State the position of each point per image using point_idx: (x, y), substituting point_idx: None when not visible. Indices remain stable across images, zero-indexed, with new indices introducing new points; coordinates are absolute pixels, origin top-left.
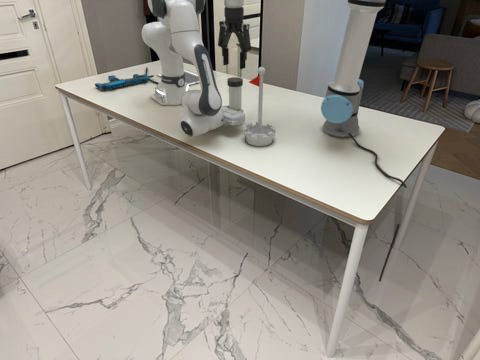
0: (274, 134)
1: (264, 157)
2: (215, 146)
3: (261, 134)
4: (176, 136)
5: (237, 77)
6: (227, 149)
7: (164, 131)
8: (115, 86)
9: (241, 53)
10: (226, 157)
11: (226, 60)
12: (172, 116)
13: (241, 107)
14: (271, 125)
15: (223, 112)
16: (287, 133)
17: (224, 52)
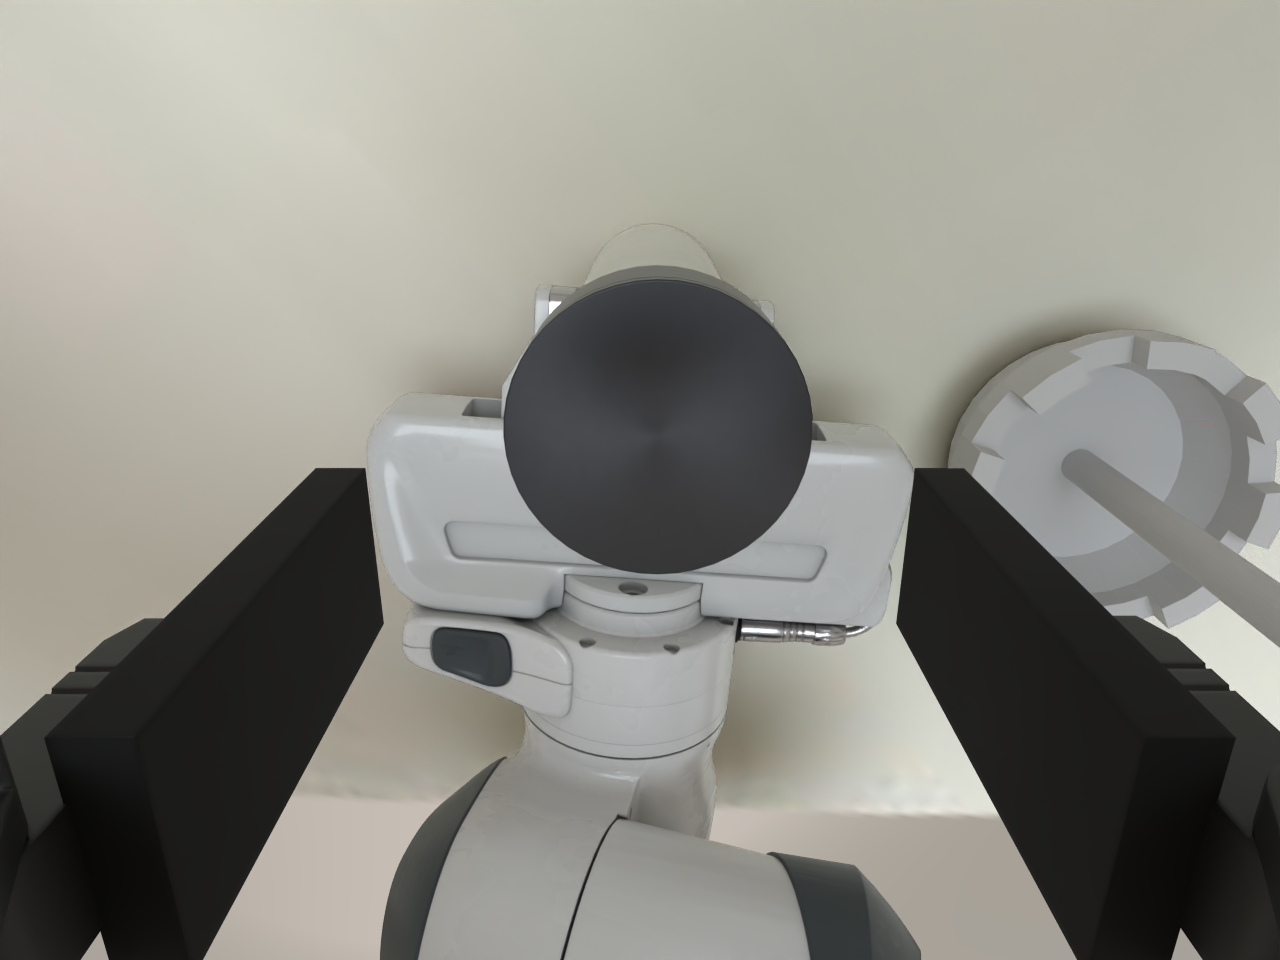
0: (1269, 449)
1: (1232, 653)
2: (810, 733)
3: (1204, 596)
4: (449, 786)
5: (607, 299)
6: (918, 716)
7: (303, 783)
8: None
9: (1152, 951)
10: (980, 797)
11: (339, 611)
12: (57, 555)
13: (718, 275)
14: (1206, 359)
15: (695, 591)
16: (1261, 150)
17: (248, 872)
